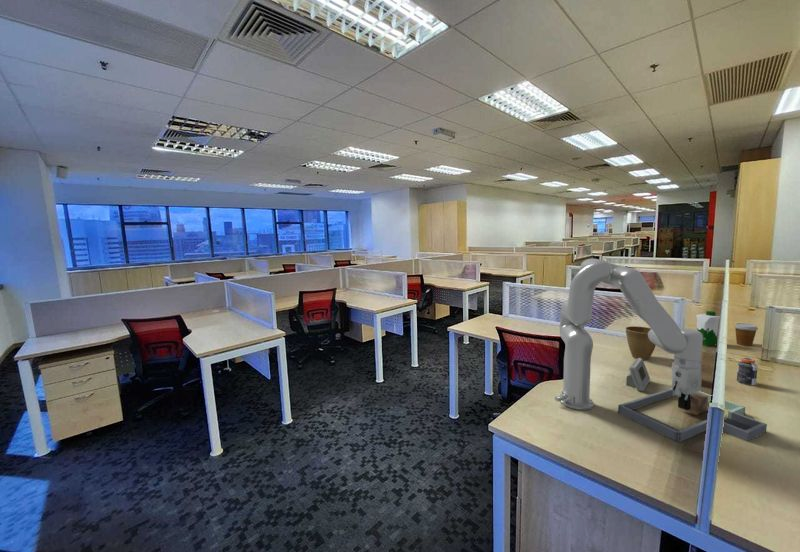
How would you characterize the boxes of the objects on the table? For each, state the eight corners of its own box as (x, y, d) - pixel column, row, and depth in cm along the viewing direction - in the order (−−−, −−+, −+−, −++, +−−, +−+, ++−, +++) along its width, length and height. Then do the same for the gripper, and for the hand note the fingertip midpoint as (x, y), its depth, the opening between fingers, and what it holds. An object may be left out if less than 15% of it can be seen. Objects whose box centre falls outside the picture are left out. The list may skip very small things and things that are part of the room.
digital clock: (641, 393, 137) (643, 370, 135) (618, 385, 144) (619, 363, 143) (658, 383, 145) (659, 361, 144) (635, 376, 153) (636, 355, 151)
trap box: (711, 458, 96) (712, 449, 96) (618, 412, 123) (618, 405, 123) (777, 426, 111) (778, 418, 110) (681, 391, 137) (681, 384, 137)
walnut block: (697, 414, 119) (698, 399, 119) (678, 407, 125) (679, 392, 124) (706, 411, 122) (708, 396, 121) (688, 403, 127) (689, 389, 126)
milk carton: (720, 345, 189) (722, 313, 187) (707, 347, 187) (710, 314, 185) (703, 341, 197) (705, 309, 195) (691, 342, 196) (694, 311, 194)
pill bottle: (760, 386, 139) (762, 361, 138) (743, 385, 140) (746, 361, 139) (748, 380, 145) (750, 356, 144) (732, 379, 146) (734, 356, 145)
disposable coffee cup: (728, 343, 193) (730, 324, 191) (738, 341, 195) (740, 322, 194) (750, 348, 184) (751, 328, 182) (760, 345, 186) (762, 326, 185)
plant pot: (664, 363, 167) (666, 333, 165) (633, 362, 170) (634, 333, 168) (647, 353, 182) (648, 325, 180) (618, 352, 184) (620, 325, 182)
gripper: (686, 369, 113) (683, 417, 115) (711, 362, 118) (707, 408, 120) (663, 362, 120) (660, 407, 122) (687, 355, 125) (684, 399, 127)
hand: (684, 408), depth 121 cm, fingers closed
